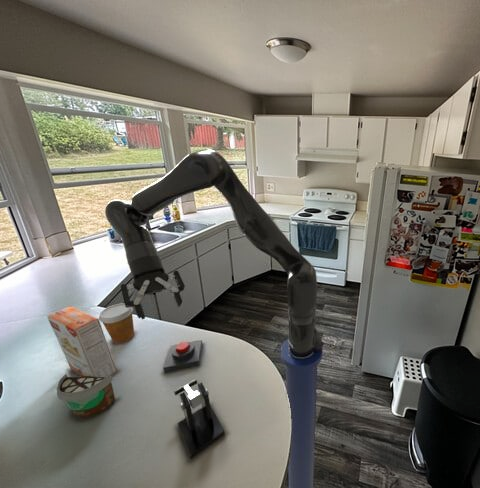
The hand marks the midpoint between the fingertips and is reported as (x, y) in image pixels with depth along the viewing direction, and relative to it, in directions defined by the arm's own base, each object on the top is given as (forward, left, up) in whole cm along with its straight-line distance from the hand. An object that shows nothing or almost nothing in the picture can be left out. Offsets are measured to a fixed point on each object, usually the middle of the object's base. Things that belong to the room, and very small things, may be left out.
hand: (162, 312), depth 69 cm
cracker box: (+25, -10, -25) cm, 37 cm away
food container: (+20, +5, -25) cm, 32 cm away
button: (-1, -8, -21) cm, 23 cm away
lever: (-7, +15, -17) cm, 24 cm away
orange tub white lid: (+22, -25, -25) cm, 42 cm away
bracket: (-9, +19, -25) cm, 32 cm away
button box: (-1, -8, -25) cm, 26 cm away
